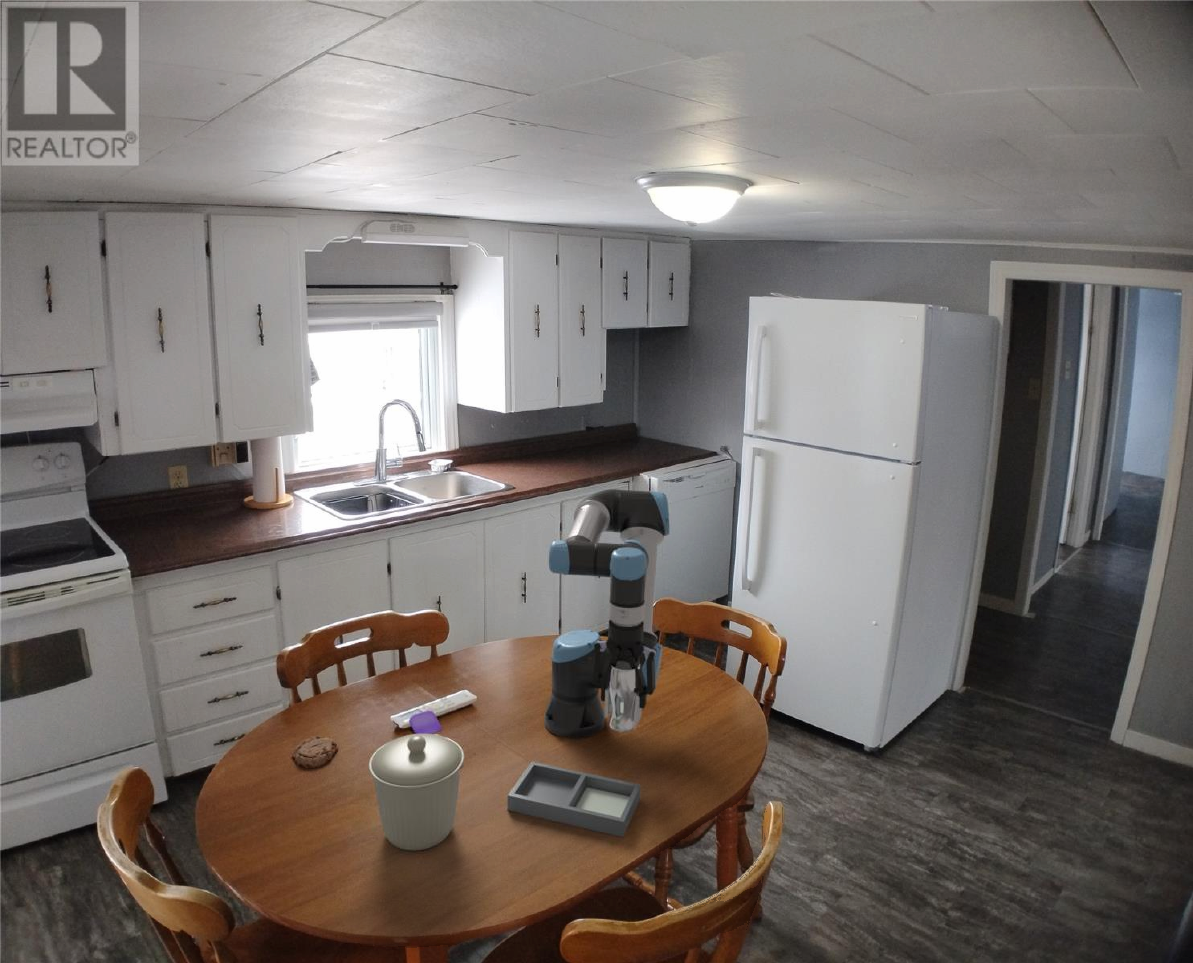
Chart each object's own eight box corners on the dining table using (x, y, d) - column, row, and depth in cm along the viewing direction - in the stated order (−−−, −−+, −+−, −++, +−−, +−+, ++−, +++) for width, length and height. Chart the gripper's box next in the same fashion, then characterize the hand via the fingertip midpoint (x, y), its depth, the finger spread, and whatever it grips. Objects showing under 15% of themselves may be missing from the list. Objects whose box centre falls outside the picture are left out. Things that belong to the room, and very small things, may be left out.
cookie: (296, 773, 178) (295, 761, 178) (290, 748, 188) (289, 737, 187) (342, 762, 183) (341, 751, 182) (334, 739, 192) (334, 728, 191)
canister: (416, 794, 172) (413, 704, 167) (483, 823, 163) (483, 730, 158) (352, 842, 157) (346, 745, 152) (422, 877, 148) (419, 775, 143)
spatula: (472, 765, 183) (472, 755, 183) (444, 774, 180) (444, 764, 179) (432, 717, 203) (432, 709, 202) (406, 725, 199) (406, 716, 199)
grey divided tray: (507, 809, 167) (507, 795, 167) (531, 775, 179) (531, 761, 179) (623, 837, 160) (623, 821, 159) (640, 799, 172) (640, 784, 171)
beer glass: (616, 736, 174) (618, 673, 170) (601, 720, 180) (603, 659, 176) (644, 729, 177) (647, 666, 173) (628, 713, 183) (631, 653, 179)
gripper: (578, 620, 172) (576, 717, 177) (666, 634, 166) (661, 733, 172) (589, 607, 179) (587, 701, 184) (674, 620, 173) (669, 716, 179)
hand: (622, 716), depth 178 cm, fingers closed on beer glass, 6 cm apart
